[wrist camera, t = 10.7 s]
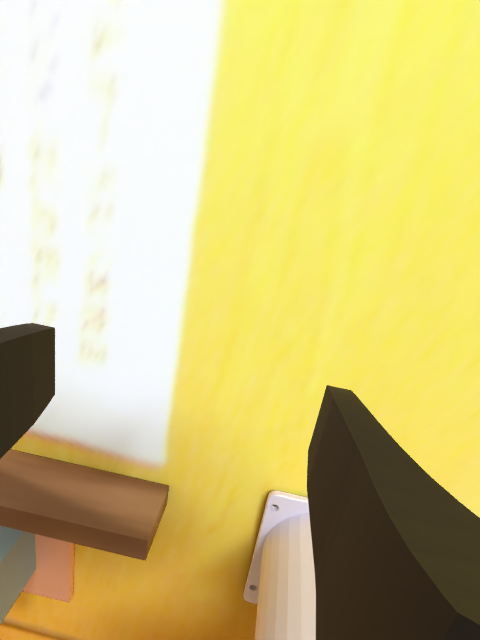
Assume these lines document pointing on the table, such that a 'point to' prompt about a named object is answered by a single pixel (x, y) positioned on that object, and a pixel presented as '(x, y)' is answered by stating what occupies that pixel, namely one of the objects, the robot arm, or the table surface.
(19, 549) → the lettered cube
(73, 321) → the table surface
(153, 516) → the walnut plank
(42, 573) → the terracotta tile
